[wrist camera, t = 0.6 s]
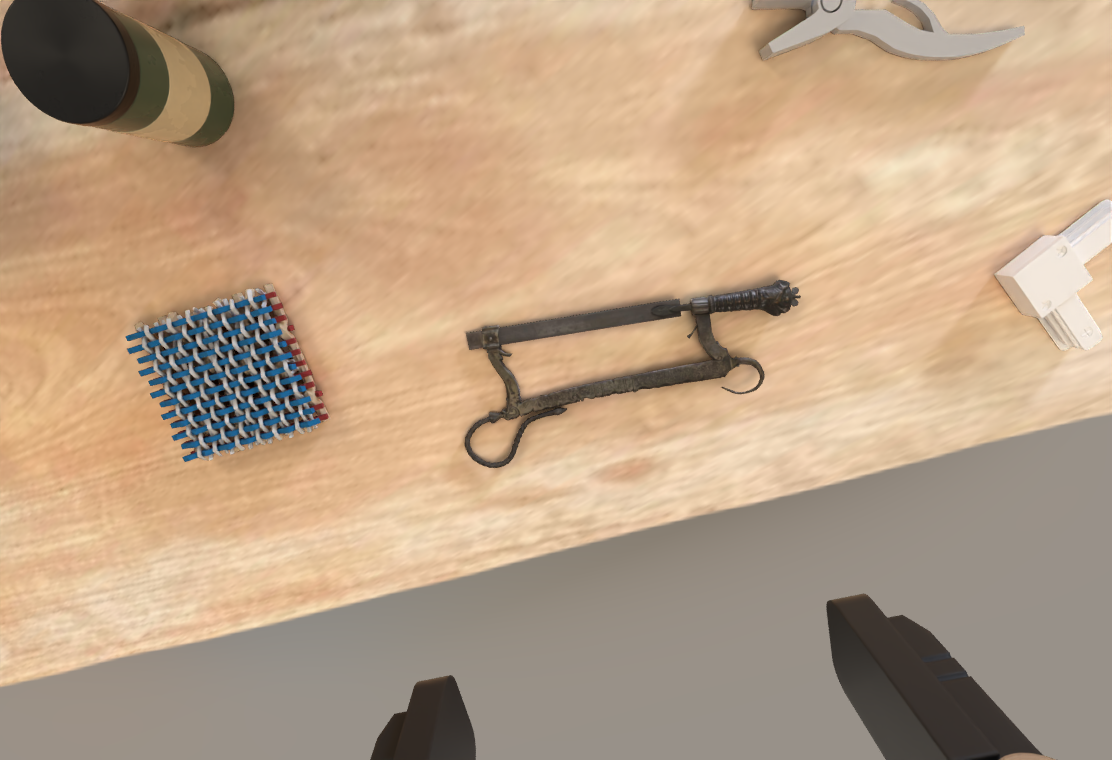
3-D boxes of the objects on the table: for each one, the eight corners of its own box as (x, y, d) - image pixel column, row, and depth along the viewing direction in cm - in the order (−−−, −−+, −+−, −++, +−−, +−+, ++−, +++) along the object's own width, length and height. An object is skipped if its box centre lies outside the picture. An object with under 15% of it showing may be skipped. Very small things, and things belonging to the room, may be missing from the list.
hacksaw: (794, 275, 37) (804, 278, 36) (800, 419, 40) (810, 426, 39) (441, 333, 38) (436, 337, 37) (471, 469, 41) (468, 478, 40)
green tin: (126, 54, 34) (-22, -4, 25) (217, 37, 33) (100, -27, 25) (159, 155, 35) (31, 133, 26) (247, 139, 35) (147, 112, 26)
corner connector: (1159, 280, 38) (1185, 283, 36) (1053, 359, 39) (1073, 364, 38) (1102, 188, 36) (1127, 187, 34) (993, 274, 37) (1012, 276, 36)
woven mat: (340, 420, 40) (329, 431, 38) (203, 459, 41) (186, 471, 39) (280, 279, 37) (265, 282, 35) (135, 323, 38) (112, 328, 36)
